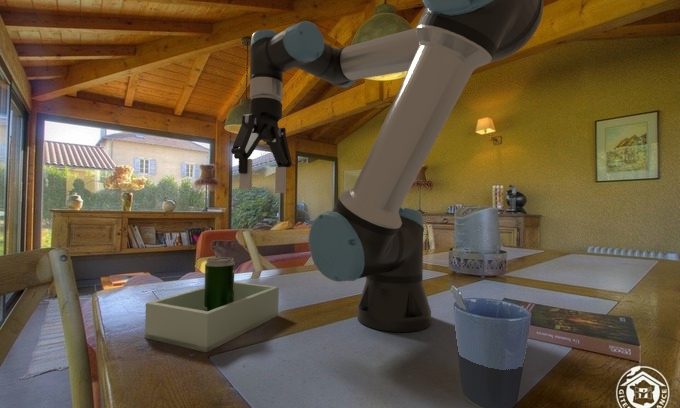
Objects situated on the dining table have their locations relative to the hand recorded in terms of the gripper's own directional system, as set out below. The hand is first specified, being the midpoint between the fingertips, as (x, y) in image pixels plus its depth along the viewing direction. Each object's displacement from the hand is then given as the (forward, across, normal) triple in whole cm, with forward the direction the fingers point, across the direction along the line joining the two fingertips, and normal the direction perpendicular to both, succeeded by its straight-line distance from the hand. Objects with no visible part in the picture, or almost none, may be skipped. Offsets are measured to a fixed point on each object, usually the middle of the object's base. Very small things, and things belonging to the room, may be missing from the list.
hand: (264, 191), depth 77 cm
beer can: (+26, +14, 0) cm, 30 cm away
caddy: (+27, +14, 0) cm, 30 cm away
